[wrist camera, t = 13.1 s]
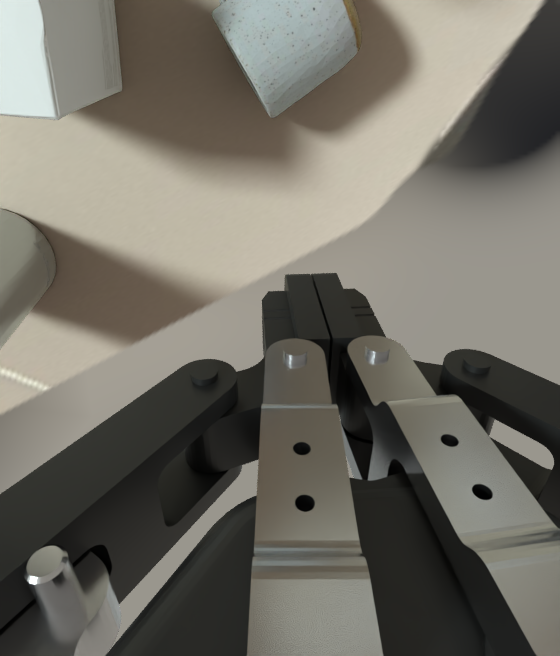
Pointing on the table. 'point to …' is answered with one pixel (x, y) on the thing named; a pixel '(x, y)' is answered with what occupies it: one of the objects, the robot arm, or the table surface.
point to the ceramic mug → (288, 44)
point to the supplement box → (57, 56)
